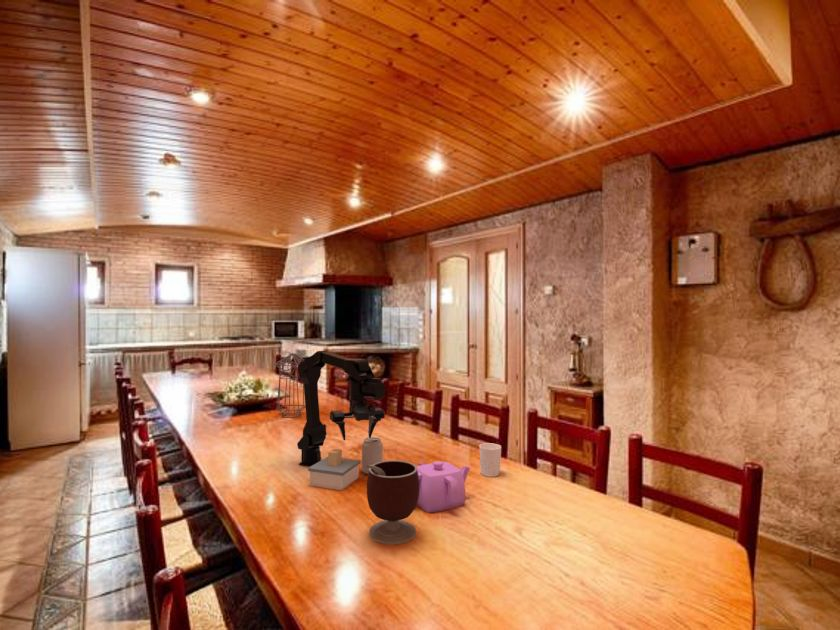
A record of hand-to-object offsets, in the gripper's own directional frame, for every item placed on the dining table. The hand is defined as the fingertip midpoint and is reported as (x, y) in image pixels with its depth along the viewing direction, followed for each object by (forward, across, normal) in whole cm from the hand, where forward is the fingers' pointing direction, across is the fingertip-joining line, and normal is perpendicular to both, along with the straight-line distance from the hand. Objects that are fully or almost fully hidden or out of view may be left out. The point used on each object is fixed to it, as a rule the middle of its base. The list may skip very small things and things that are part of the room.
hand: (357, 438), depth 159 cm
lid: (+8, -8, -2) cm, 12 cm away
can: (+14, +7, +2) cm, 15 cm away
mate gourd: (+13, -2, -43) cm, 45 cm away
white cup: (+13, +46, -15) cm, 50 cm away
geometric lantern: (+15, -10, +103) cm, 104 cm away
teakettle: (+13, +18, -29) cm, 37 cm away
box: (+14, -8, -2) cm, 16 cm away
